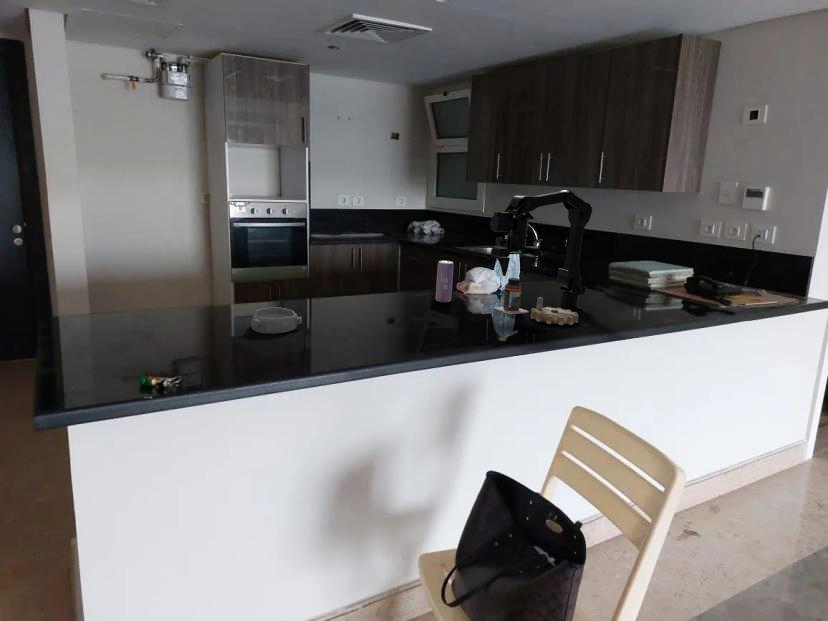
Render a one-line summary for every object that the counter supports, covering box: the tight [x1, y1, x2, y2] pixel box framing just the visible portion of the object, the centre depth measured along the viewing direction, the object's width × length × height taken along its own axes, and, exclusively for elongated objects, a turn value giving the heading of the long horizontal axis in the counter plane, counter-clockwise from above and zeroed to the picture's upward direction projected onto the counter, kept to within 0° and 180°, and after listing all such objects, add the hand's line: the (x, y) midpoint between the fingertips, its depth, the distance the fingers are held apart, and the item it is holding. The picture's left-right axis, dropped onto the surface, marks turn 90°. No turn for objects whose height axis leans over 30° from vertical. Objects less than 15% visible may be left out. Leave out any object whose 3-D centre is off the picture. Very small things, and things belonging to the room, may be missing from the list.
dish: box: [250, 306, 303, 335], centre depth 168 cm, size 14×14×5 cm
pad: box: [493, 306, 529, 315], centre depth 208 cm, size 9×9×1 cm
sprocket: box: [530, 296, 579, 326], centre depth 196 cm, size 16×16×7 cm
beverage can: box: [435, 260, 454, 303], centre depth 216 cm, size 6×6×15 cm
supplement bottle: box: [502, 277, 523, 311], centre depth 207 cm, size 6×6×11 cm
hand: (514, 275), depth 205 cm, fingers open, 9 cm apart
